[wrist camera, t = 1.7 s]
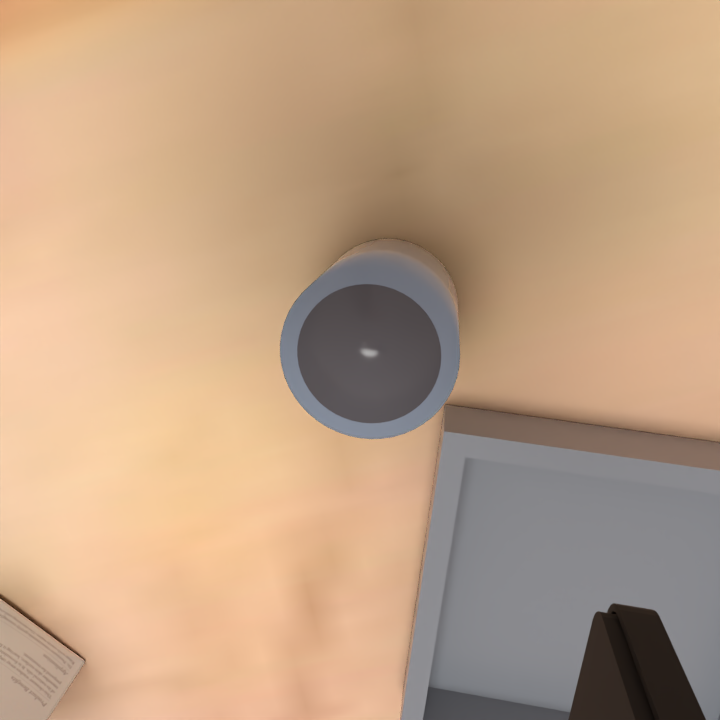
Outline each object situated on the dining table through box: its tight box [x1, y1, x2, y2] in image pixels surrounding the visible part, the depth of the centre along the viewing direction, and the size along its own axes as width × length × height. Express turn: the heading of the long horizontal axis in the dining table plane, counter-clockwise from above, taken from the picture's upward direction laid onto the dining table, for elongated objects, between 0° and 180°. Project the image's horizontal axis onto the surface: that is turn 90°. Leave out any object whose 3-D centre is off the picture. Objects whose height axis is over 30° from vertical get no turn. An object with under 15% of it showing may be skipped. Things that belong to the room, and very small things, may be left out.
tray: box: [400, 405, 720, 720], centre depth 30 cm, size 16×16×3 cm
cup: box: [280, 238, 460, 439], centre depth 25 cm, size 6×6×7 cm
